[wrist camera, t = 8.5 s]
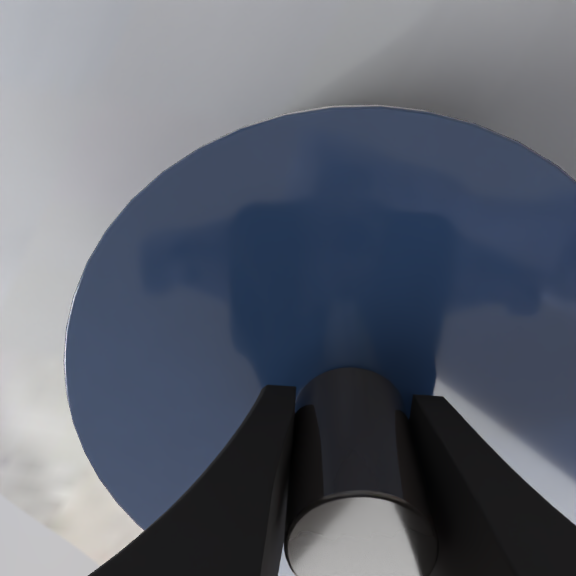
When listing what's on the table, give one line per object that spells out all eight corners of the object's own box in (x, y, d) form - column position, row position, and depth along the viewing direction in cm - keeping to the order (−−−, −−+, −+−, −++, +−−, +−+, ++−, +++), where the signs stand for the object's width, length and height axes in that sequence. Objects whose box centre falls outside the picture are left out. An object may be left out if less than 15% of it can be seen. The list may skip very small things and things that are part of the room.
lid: (686, 486, 13) (871, 695, 8) (247, 617, 15) (219, 822, 11) (525, -37, 9) (725, -144, 4) (-26, 273, 11) (-229, 390, 7)
